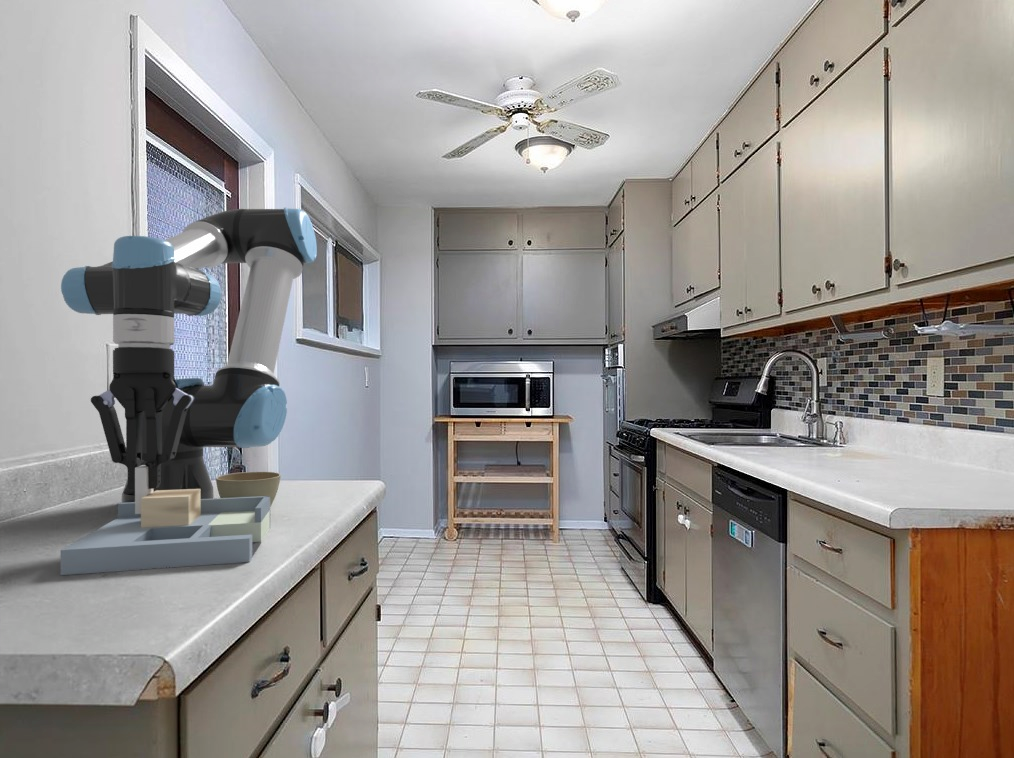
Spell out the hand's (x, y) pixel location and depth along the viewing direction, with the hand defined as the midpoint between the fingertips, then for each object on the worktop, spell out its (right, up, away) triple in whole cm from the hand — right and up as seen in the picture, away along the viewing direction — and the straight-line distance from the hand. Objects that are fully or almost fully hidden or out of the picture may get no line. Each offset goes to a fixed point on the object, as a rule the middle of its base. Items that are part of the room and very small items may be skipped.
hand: (144, 511), depth 85 cm
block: (+4, -2, 0) cm, 4 cm away
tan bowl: (+8, -5, +15) cm, 18 cm away
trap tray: (+7, -4, -3) cm, 8 cm away
